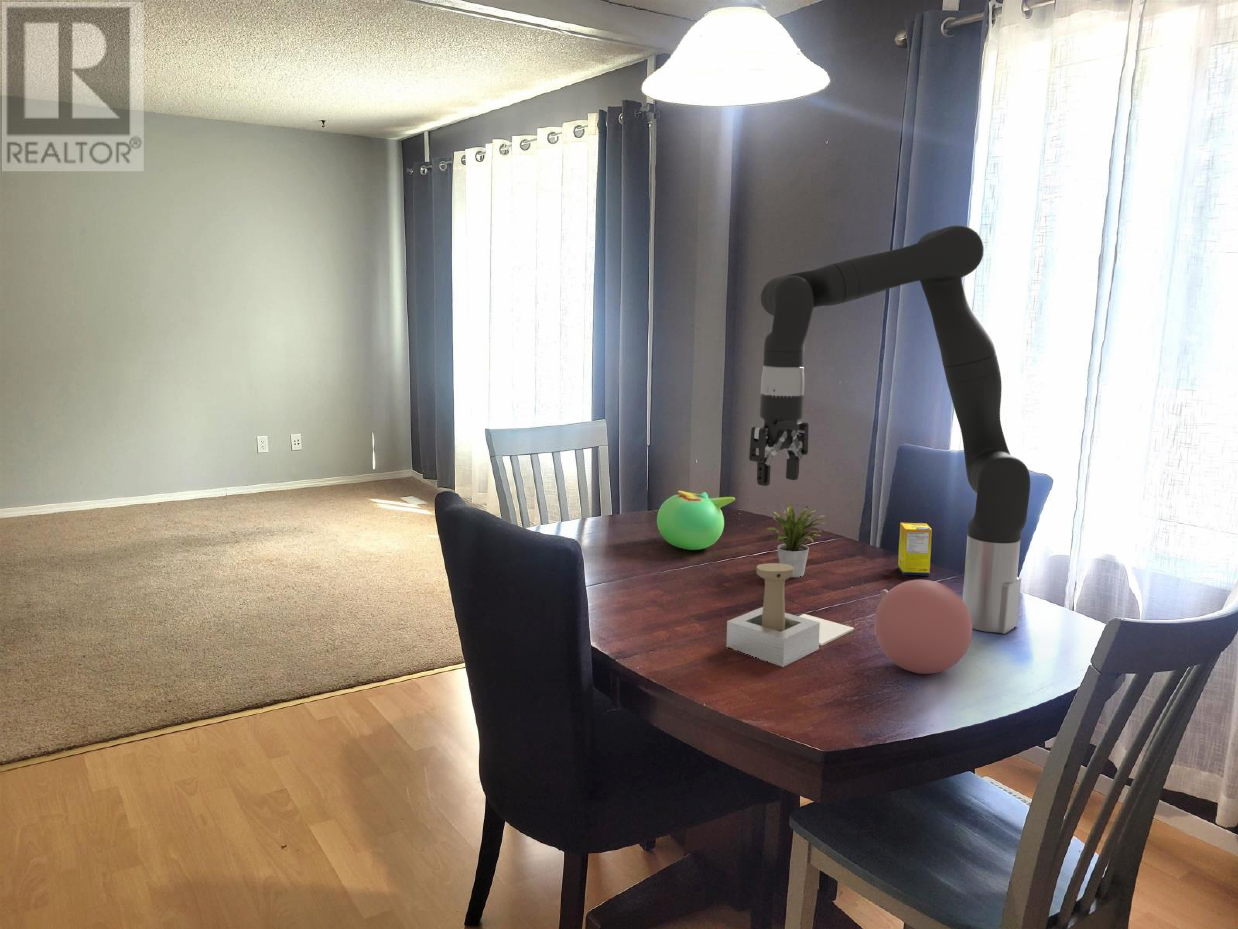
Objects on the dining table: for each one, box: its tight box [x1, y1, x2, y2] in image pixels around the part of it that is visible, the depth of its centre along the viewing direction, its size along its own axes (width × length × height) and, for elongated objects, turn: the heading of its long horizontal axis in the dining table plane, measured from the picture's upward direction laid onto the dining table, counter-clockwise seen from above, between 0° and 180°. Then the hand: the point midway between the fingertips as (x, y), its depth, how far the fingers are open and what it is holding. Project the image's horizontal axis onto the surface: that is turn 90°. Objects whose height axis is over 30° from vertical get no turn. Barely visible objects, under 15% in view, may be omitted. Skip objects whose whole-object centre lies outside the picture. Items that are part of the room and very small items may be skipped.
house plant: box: [766, 502, 830, 578], centre depth 200 cm, size 14×14×16 cm
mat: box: [798, 613, 855, 646], centre depth 168 cm, size 11×11×1 cm
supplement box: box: [897, 522, 933, 577], centre depth 203 cm, size 6×6×11 cm
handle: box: [756, 562, 794, 632], centre depth 157 cm, size 5×6×15 cm
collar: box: [726, 606, 820, 668], centre depth 158 cm, size 12×11×5 cm
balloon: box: [873, 579, 973, 675], centre depth 151 cm, size 15×20×15 cm
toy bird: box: [656, 490, 736, 551], centre depth 223 cm, size 18×17×15 cm
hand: (778, 482), depth 160 cm, fingers open, 8 cm apart
